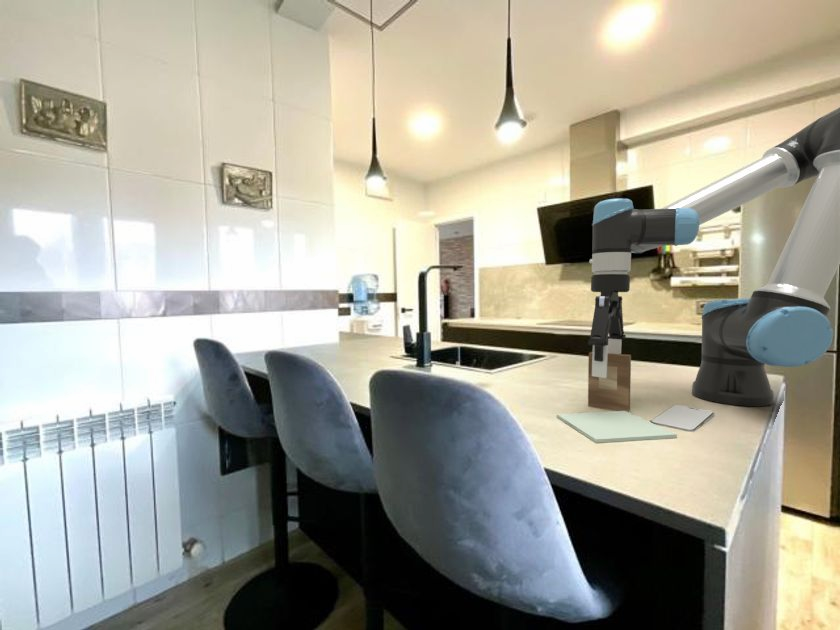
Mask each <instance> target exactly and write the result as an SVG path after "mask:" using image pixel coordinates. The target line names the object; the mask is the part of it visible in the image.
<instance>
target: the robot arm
mask: <svg viewBox="0 0 840 630" xmlns="http://www.w3.org/2000/svg"><path fill="white" fill-rule="evenodd" d="M812 178H815V180H814V182H813V184H812V187H811V188H810V191H809V192H808V195H807V197H806V199H805V201H804V204H803V206H802V209H801V211H800V212H799V215H798V217H797V219H796V221H795V223H794V225H793V228H792V229H791V232H790V234H789V236H788V238H787V241H786V243H785V245H784V247H783V249H782V251H781V253H780V255H779V258H778V259H777V262H776V264H775V266H774V269H773V271H772V273H771V276H770V277H769V278H768V282H767V284H765V285H764V286H762V287H759V288H756V289H754V290H753V291H752V294H751V296H750V298H733V299H732V298H729V299H720V300H719V299H718V300H711V301H708V302H706V303H705V304H704V305H703V308H702V314H701V363H700V366H699V368H698V371H697V374H696V377H695V380H694V381H693V382H692V385H691V394H692V395H693V396H695V397H697V398H699V399H702V400H705V401H709V402H710V401H711V402H715V403H719V404H727V405H733V406H745V407H768V406H772V405H773V404H774V400H775V397H774V396H775V393H774V391H773V390H772V389H771V388H772V387H771V384H770V381H769V380H770V379H769V377H768V375H767V372H766V368H765V365H767V366H771V367H772V366H773V367H783V368H795V367H802V366H805V365H809V364H811V363H813V362H815V361H817V360H819V359H820V358H821V357H823V355H824V354H825V353H826V352H827V351H828V350H829V349H830V347H831V344H832V342H833V338H834V328H832V327H831V321H830V320H829V319H828V318H827V316H828V314H829V312H830V310H831V306H830V305H829V304H828V302H827V301H826V299H825V295H826V293H827V292H828V289H829V287H830V284H831V282H832V281H833V279H834V277H835V274H836V272H837V271H838V268H839V267H840V107H837V108H835V109H834V110H832V111H830V112H828V113H827V114H825V115H823V116H821V117H819V118H817V119H816V120H814V121H813V122H812V123H810V124H808V125H807V126H805V127H804V128H802V129H801V130H799V131H798V132H796V133H794V134H793V135H792V136H790V137H789V138H787V139H784V141H782V142H780V143H779V144H777V145H775V146H772V147H771V148H769V149H768V150H766V151H765V152H764V153H763V155H762V157H761V158H760V159H757V160H755V161H753V162H751V163H749V164H747V165H745V166H743V167H741V168H739V169H737V170H735V171H733V172H732V173H729V174H727V175H726V176H723V177H722V178H719V179H717V180H716V181H714V182H711V183H710V184H707V185H705V186H703V187H701V188H699V189H697V190H695V191H694V192H691V193H690V194H688V195H685V196H683V197H682V198H679V199H677V200H675V201H673V202H672V203H670V204H668V205H666V206H663V207H662V208H651V209H636V208H634V204H633V201H632V200H631V199H629V198H622V197H621V198H619V197H618V198H609V199H605V200H600V201H599V202H598V203H597V204H595V205H594V208H593V217H592V218H593V220H592V223H591V226H592V251H591V252H592V255H591V256H592V257H591V258H590V259H589V261H588V262H589V264H591V272H592V273H594V275H593V274H592V276H591V277H590V291H591V292H593V293H600V295H598V296H597V295H595V299H594V300H595V301H594V302H595V303H594V311H593V318H592V323H591V330H590V336H589V339H588V342H587V344H588V345H590V346H591V345H592V351H591V352H592V376H594V377H602V378H607V356H608V353H612V354H622V343H623V342H622V340H626V335H627V334H625V331H624V319H623V318H624V316H623V296H622V295H619V293H628V292H629V291H630V287H631V286H630V285H631V284H630V283H631V277H630V275H629V274H628V273H629V272H631V268H632V261H631V260H632V253H633V254H642V253H644V252H646V251H650V250H655V249H658V248H660V247H664V246H665V247H666V246H674V247H678V246H687V245H690V244H692V243H694V241H695V240H696V238H697V236H698V234H699V231H700V230H699V229H700V226H702V225H703V224H705V223H707V222H709V221H711V220H713V219H716V218H717V217H720V216H722V215H723V214H726V213H728V212H730V211H732V210H734V209H736V208H738V207H741V206H743V205H744V204H746V203H749V202H751V201H753V200H755V199H758V198H759V197H761V196H763V195H765V194H768V193H769V192H772V191H774V190H776V189H778V188H782V189H783V188H784V189H786V188H790V187H793V186H795V185H797V184H799V183H800V182H803V181H806V180H809V179H812Z"/></svg>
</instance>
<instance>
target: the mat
mask: <svg viewBox="0 0 840 630" xmlns="http://www.w3.org/2000/svg"><path fill="white" fill-rule="evenodd" d="M556 418H557V419H558V420H560V421H562V422H563V423H565V424H566V425H568V426H569V427H571V428H572V429H574V430H576V431H577V432H579V433H580V434H582V435H583V436H585V437H586V438H588V439H589V440H591V441H592V442H594V443H596V444H600V443H603V444H604V443H615V442H618V443H619V442H633V441H646V440H647V441H648V440H662V439H665V440H667V439H677V438H678V435H677V434H676V433H675V432H673V431H670V430H668V429H666V428H664V427H663V426H660V425H655V424H653V423H651V421H648V420H646V419H644V418H642V417H640V416H637V415H635V414H632V413H631V412H630V411H629V412H627V411H613V410H609V411H597V412H596V411H594V412H576V413H575V412H574V413H573V412H572V413H561V414H560V413H559V414H558V413H557V414H556Z"/></svg>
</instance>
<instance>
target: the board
mask: <svg viewBox="0 0 840 630" xmlns="http://www.w3.org/2000/svg"><path fill="white" fill-rule="evenodd" d="M631 363H632V354H624V353H623V354H622V353H621V354H612V353H608V356H607V378H602V377H594V376H592V351H590V352H589V353H588V364H587V365H588V371H587V372H588V374H587V375H588V379H587V382H588V384H587V386H588V388H587V389H588V390H587V395H588V396H587V400H588V401H587V407H588V408H595V409H602V410H607V411H627V412H629V413H630V411H631V383H632V382H631V379H632V378H631V376H632V375H631V374H632V373H631V372H632V369H631V368H632V366H631V365H632V364H631Z"/></svg>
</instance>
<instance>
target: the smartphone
mask: <svg viewBox="0 0 840 630" xmlns="http://www.w3.org/2000/svg"><path fill="white" fill-rule="evenodd" d="M714 416H715V412H714V411H712V410H710V409H709V410H707V409H702V408H697V407H692V406H686V405H679V404H674V405H672V406H670V407H669V408H667V409H666V410H664V411H663V412H661V413H660V414H658V415H657V416H655V417H653V418H652V419H651V420H650V422H651V423H653V424H655V425H657V426H659V427H663V428H664V427H666V428H670V429H674V430H679V431H683V432H689V433H694V432H696V431H697V430H699V428H701V427H702V426H703V425H704V424H707V423H708V422H709V420H711V419H712V418H713V417H714Z"/></svg>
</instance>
